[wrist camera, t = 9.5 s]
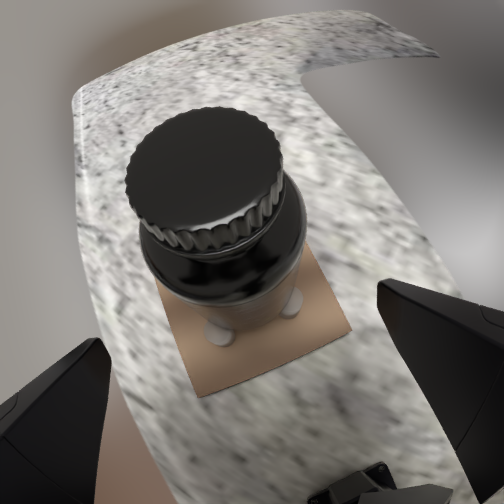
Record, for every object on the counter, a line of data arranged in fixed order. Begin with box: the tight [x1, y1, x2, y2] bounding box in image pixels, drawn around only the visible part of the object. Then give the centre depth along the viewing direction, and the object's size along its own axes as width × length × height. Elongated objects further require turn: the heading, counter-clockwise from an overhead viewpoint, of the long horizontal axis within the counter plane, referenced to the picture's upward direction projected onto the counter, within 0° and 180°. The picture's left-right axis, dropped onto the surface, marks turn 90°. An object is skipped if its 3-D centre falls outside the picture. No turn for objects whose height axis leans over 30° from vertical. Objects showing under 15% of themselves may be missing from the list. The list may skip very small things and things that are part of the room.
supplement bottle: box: [125, 106, 307, 331], centre depth 14 cm, size 7×7×12 cm
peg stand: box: [154, 241, 352, 398], centre depth 21 cm, size 12×12×4 cm
